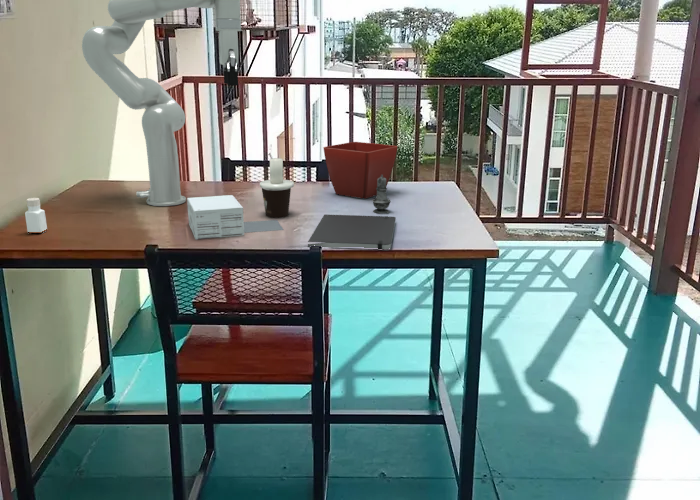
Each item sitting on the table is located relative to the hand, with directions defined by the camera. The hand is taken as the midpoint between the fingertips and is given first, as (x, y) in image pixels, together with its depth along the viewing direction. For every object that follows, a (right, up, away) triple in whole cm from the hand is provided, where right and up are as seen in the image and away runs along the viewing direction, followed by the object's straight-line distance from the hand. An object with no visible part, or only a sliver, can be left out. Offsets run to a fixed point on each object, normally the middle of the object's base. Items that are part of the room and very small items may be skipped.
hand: (231, 84), depth 199 cm
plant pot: (+40, -31, +29) cm, 59 cm away
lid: (+15, -32, -7) cm, 36 cm away
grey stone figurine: (+47, -39, +5) cm, 61 cm away
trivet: (+12, -46, -17) cm, 50 cm away
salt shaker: (-50, -46, -20) cm, 71 cm away
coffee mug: (+15, -42, -4) cm, 45 cm away
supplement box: (0, -47, -20) cm, 51 cm away
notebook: (+38, -47, -19) cm, 64 cm away
